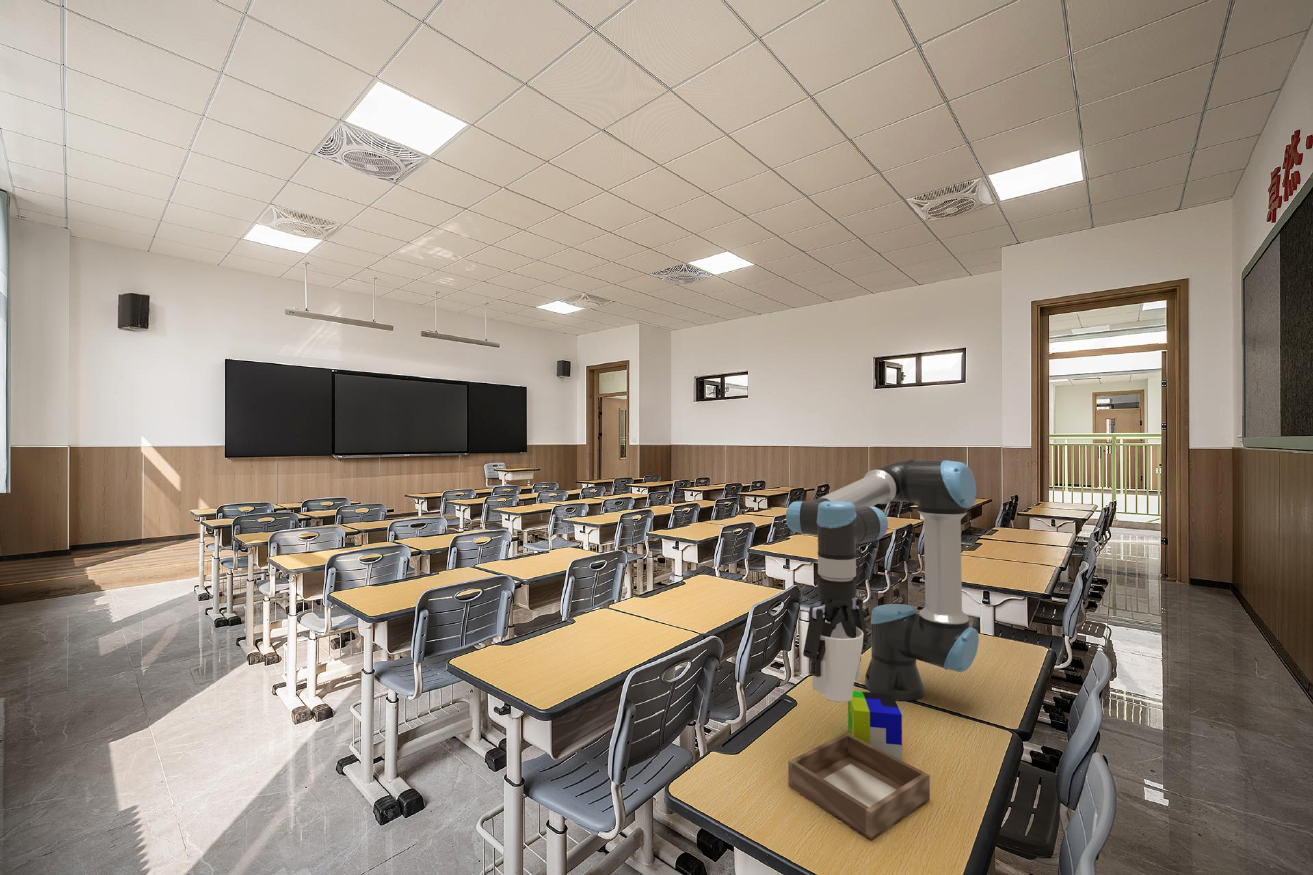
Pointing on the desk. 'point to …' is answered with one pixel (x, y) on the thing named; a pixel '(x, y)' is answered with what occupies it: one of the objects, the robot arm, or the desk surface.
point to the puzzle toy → (876, 721)
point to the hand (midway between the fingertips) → (836, 684)
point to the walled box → (859, 784)
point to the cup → (841, 663)
